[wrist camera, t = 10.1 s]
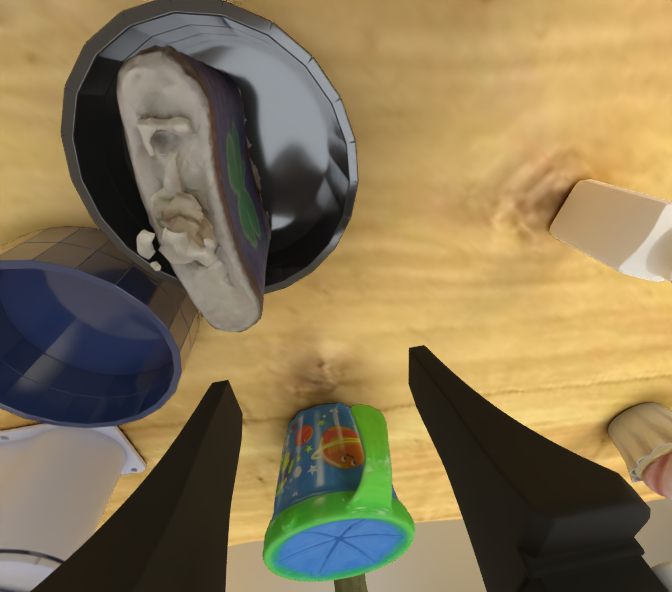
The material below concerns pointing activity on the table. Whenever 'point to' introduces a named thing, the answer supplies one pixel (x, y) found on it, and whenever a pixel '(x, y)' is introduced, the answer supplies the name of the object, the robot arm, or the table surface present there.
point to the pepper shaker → (618, 228)
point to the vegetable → (351, 584)
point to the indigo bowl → (87, 331)
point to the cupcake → (646, 445)
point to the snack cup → (336, 497)
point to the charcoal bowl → (260, 129)
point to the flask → (197, 182)
